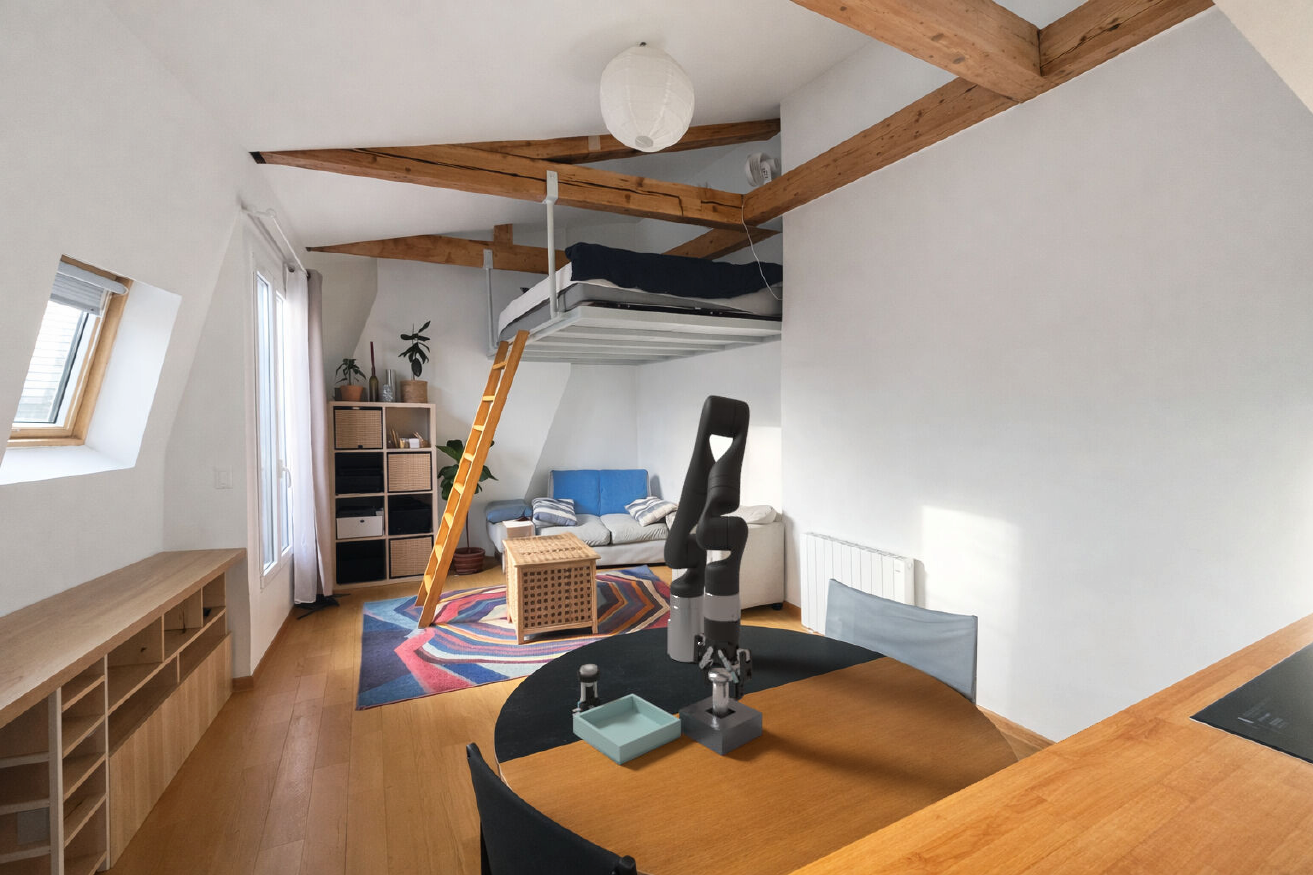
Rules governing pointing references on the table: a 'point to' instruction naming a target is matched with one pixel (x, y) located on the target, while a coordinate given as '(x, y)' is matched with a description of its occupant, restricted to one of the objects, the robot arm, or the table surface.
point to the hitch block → (720, 725)
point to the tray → (626, 728)
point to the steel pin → (720, 691)
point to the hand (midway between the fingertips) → (722, 692)
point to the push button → (588, 687)
